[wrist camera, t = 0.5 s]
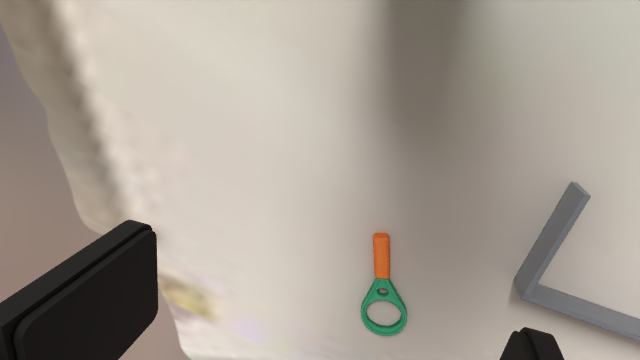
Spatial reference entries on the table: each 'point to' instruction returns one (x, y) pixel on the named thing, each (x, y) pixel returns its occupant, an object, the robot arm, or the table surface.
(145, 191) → the table surface
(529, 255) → the grey bent bar
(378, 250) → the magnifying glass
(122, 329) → the robot arm
